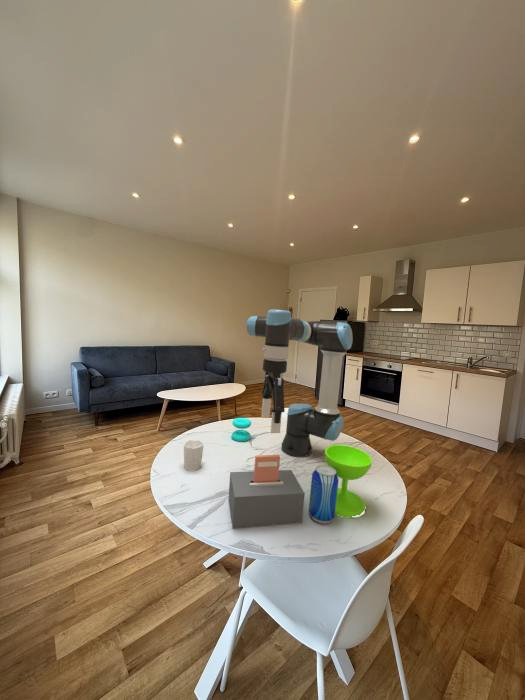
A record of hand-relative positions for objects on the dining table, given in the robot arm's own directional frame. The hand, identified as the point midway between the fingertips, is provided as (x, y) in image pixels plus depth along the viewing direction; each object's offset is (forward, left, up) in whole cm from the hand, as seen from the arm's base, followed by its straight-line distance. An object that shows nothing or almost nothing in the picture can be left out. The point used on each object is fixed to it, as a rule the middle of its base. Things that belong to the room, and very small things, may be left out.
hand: (269, 424), depth 91 cm
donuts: (0, -58, -30) cm, 65 cm away
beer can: (-19, +5, -30) cm, 35 cm away
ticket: (0, 0, -23) cm, 23 cm away
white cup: (+24, -30, -30) cm, 49 cm away
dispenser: (0, 0, -30) cm, 30 cm away
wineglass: (-30, -1, -30) cm, 42 cm away
